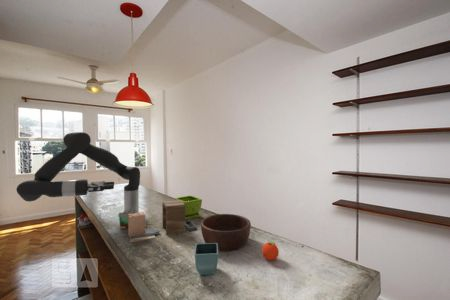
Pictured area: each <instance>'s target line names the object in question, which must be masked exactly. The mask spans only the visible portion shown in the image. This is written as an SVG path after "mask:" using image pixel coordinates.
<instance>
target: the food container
mask: <svg viewBox="0 0 450 300" xmlns="http://www.w3.org/2000/svg"><path fill="white" fill-rule="evenodd" d="M133 213H137V211H136V208H134V207H131V209H130V210H126V211H124V210H123V212H118V220H119V229H120V231H121V230H124V231H125V230H128V214H133Z"/></svg>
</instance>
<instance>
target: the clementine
mask: <svg viewBox="0 0 450 300" xmlns="http://www.w3.org/2000/svg"><path fill="white" fill-rule="evenodd" d="M279 251H280V250H279V248H278V246H277V245H276V242H274V241H270V242H266V243H264V244H263V246H262V250H261V252H262V253H261V254H262V255H263V257H264V258H265V259H266V260H268V261H275V260H276V259H277V258H278V256H279V253H280V252H279Z"/></svg>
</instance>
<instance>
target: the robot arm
mask: <svg viewBox="0 0 450 300" xmlns="http://www.w3.org/2000/svg"><path fill="white" fill-rule="evenodd" d="M62 140H63V144H64V146H66V148H64V149H62V150H61V151H60V152H59V153H57V154H55V155H54V156H53V157H50V159H49V160H47V161H46V162H45V163H43V164H42V165H41V167H39V169H38V170H37V171H36V172H35V174H34V178H33V179H31V180H25V181H23V182H21V183H19V184H18V185H17V186H16V193H17V194H18V195H19V197H20V198H22V200H24V201H25V202H34V201H36V200H38V199H40V198H41V197H42V196H47V197H49V198H61V197H78V196H87V195H88V193H97V192H103V191H106V190H108V191H109V190H113V189H114V188H115V181H107V182H106V181H104V180H103V181H102V180H101V181H91V182H90V183H89V181H88V179H70V180H62V181H53V180H54V178H56V176H58V174H60V172H61V171H62V170H63V169H64V168H65V167H66V166H67V165H68V164H69V163H70V162H71V161H72V160H73V159H75V158H77V156H78V155H79V154H81V155H83V156H85V157H86V158H88V159H90V160H92V161H94V162H95V163H97V164H98V165H100V166H101V167H103V168H106V169H108V170H110V171H111V172H114V173H116V174H117V175H118V176H119V177H121V178H122V179H124V180H127V181H128V183H127V184H126V185H124V187H123V203H124V204H123V212H124V211H126V210H130V209H131V207H134V208H136V211H137V213H140V212H139V207H140V205H139V201H140V200H139V198H140V197H139V196H140V195H139V187H140V183H141V182H140V181H141V171H140V169H139V167H137V166H128V165H125V164H123V163H121V162H120V160H119V158H118V157H117V156H116V154H114V153H112V152H111V151H109V150H107V149H104V148H101V147H100V146H96V145H94V144H91V141H92V139H91V136H90V135H89V134H88V133H87V132H84V131H83V132H82V131H74V132H68V133H66V134H65V135H64V136H63V139H62Z"/></svg>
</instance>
